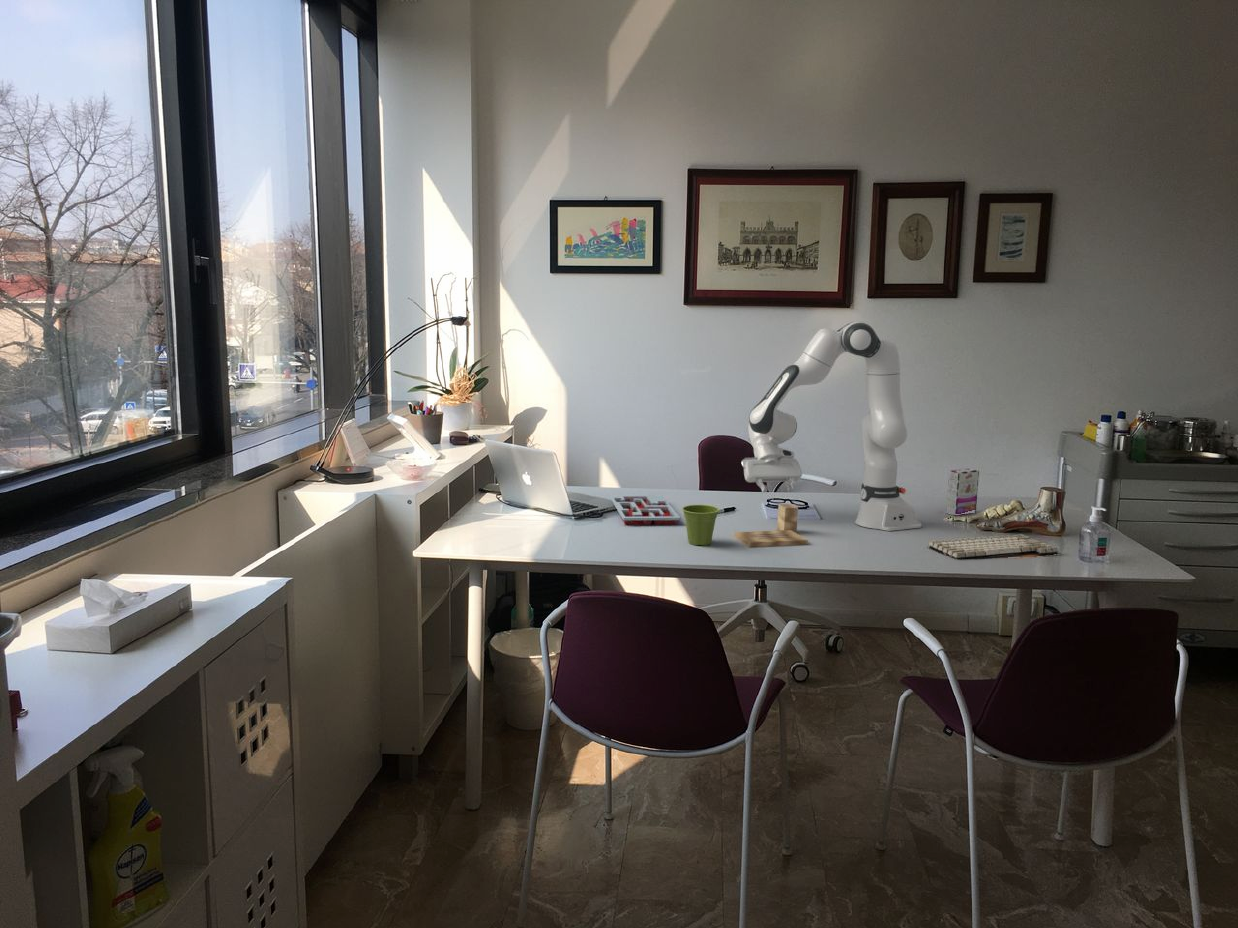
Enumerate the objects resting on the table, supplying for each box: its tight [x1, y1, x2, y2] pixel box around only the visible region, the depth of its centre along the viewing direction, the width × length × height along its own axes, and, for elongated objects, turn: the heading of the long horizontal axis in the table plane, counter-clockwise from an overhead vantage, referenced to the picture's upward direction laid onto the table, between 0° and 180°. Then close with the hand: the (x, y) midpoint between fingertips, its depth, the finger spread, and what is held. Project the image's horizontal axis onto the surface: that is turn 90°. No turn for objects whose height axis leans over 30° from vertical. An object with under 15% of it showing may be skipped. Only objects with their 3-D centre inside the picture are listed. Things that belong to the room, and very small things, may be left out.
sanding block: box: [776, 503, 799, 534], centre depth 324 cm, size 5×5×9 cm
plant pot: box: [681, 504, 720, 546], centre depth 307 cm, size 12×12×11 cm
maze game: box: [609, 495, 681, 526], centre depth 345 cm, size 35×20×3 cm, turn 8°
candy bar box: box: [945, 467, 980, 514], centre depth 358 cm, size 11×5×16 cm, turn 120°
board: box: [733, 530, 809, 548], centre depth 313 cm, size 20×13×2 cm, turn 105°
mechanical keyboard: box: [927, 533, 1059, 561], centre depth 308 cm, size 38×19×3 cm, turn 108°
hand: (777, 490), depth 331 cm, fingers open, 8 cm apart
